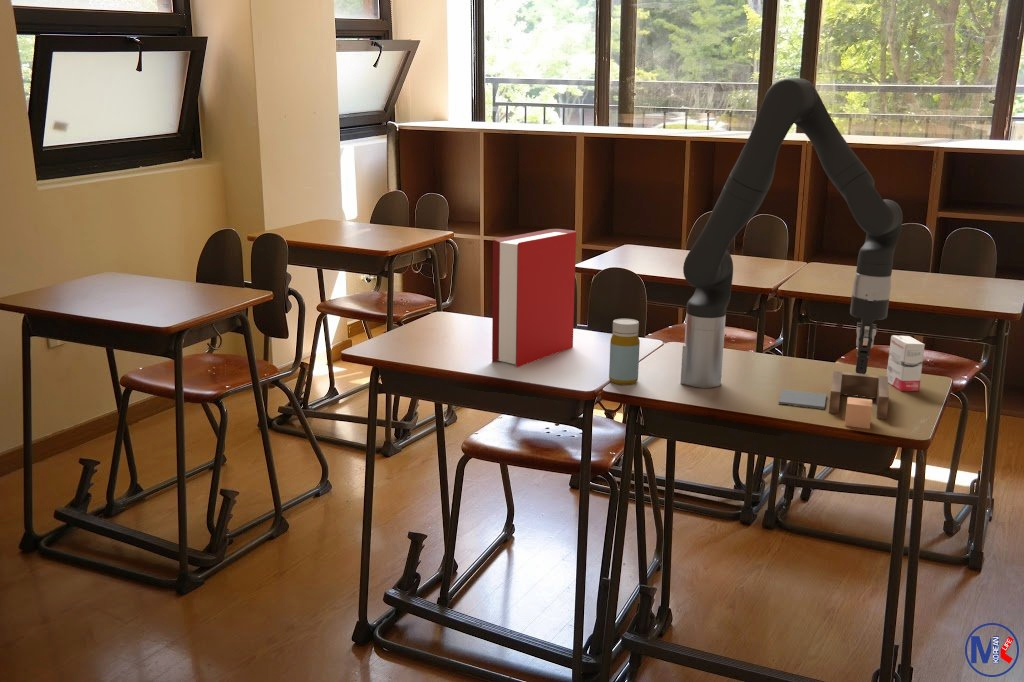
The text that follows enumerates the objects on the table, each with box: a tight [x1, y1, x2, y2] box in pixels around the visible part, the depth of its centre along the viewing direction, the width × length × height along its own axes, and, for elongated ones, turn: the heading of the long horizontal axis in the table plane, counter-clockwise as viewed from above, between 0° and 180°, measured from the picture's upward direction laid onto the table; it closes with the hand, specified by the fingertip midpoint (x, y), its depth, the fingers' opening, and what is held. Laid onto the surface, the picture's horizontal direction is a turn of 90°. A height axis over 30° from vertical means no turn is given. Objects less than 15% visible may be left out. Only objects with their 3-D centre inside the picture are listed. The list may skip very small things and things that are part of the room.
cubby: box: [828, 370, 890, 420], centre depth 219 cm, size 12×17×5 cm
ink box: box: [886, 334, 926, 392], centre depth 233 cm, size 8×5×12 cm, turn 3°
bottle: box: [608, 318, 641, 386], centre depth 233 cm, size 7×7×15 cm
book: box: [491, 228, 577, 368], centre depth 255 cm, size 27×8×32 cm, turn 143°
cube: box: [844, 396, 873, 430], centre depth 207 cm, size 5×5×5 cm
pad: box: [778, 388, 827, 410], centre depth 222 cm, size 10×10×1 cm
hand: (860, 372), depth 209 cm, fingers closed
